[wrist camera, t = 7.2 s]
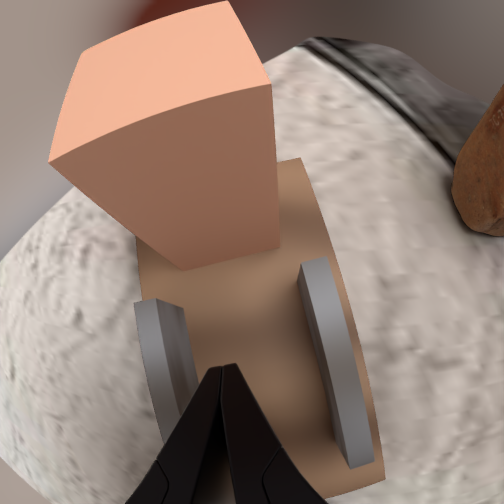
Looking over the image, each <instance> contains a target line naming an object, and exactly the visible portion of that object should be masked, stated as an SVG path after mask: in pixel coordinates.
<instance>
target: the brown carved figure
mask: <svg viewBox="0 0 504 504" xmlns="http://www.w3.org/2000/svg"><path fill="white" fill-rule="evenodd" d="M451 193H452V196H453V200H454V202H455V205H456V207H457V209H458V211H459V213H460V215H461V217H462V219H463V221H464V222H465V224H466V225H467V226H468V227H470V228H471V229H472V230H474V231H478V232H483V233H487V234H490V235H493V236H504V84H503V86H502V87H501V89H500V91H499V92H498V93H497V95H496V96H495V98H494V100H493V102H492V103H491V105H490V106H489V108H488V109H487V111H486V112H485V114H484V115H483V117H482V119H481V120H480V122H479V123H478V124H477V126H476V127H475V129H474V130H473V132H472V133H471V135H470V136H469V138H468V139H467V141H466V143H465V144H464V146H463V147H462V149H461V151H460V153H459V155H458V157H457V160H456V164H455V168H454V177H453V183H452V185H451Z"/></svg>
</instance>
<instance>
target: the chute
mask: <svg viewBox="0 0 504 504" xmlns="http://www.w3.org/2000/svg"><path fill="white" fill-rule="evenodd" d="M277 179H278V199H279V221H280V247H279V248H275V249H271V250H267V251H263V252H259V253H255V254H251V255H247V256H243V257H239V258H235V259H231V260H227V261H223V262H219V263H215V264H211V265H207V266H203V267H199V268H195V269H191V270H187V271H182V270H181V269H179V268H178V267H177V266H175V265H174V264H173V263H171V262H170V261H169V260H167V259H166V258H165V257H163V256H162V255H161V254H159V253H158V252H157V251H155V250H154V249H153V248H151V247H150V246H149V245H147V244H146V243H145V242H143V241H142V240H141V239H140V238H138V237H137V236H136V246H137V257H138V267H139V276H140V284H141V292H142V300H143V301H140V302H136V303H134V308H135V315H136V322H137V329H138V335H139V340H140V346H141V352H142V357H143V362H144V367H145V372H146V376H147V381H148V386H149V390H150V394H151V398H152V402H153V406H154V410H155V414H156V418H157V422H158V425H159V429H160V432H161V436H162V439H163V443H164V444H165V442H166V441H167V439H168V437H169V436H170V434H171V432H172V430H173V429H174V427H175V425H176V424H177V422H178V420H179V418H180V417H181V415H182V413H183V412H184V410H185V408H186V406H187V405H188V403H189V401H190V399H191V398H192V396H193V394H194V392H195V391H196V389H197V387H198V385H199V384H200V382H201V380H202V378H203V377H204V375H205V373H206V371H207V370H208V368H210V367H215V366H223V365H225V364H231V363H237V365H238V367H239V368H240V370H241V372H242V374H243V376H244V378H245V380H246V382H247V384H248V385H249V387H250V389H251V391H252V393H253V395H254V396H255V398H256V400H257V402H258V404H259V405H260V407H261V409H262V411H263V413H264V414H265V416H266V418H267V420H268V421H269V423H270V425H271V427H272V428H273V430H274V432H275V433H276V435H277V437H278V439H279V440H280V442H281V444H282V445H283V448H285V450H286V452H287V453H288V455H289V457H290V458H291V460H292V461H293V463H294V464H295V466H296V467H297V468H298V470H299V471H300V473H301V474H302V475H303V476H304V477H305V479H306V480H307V481H308V482H309V483H310V485H311V486H312V487H313V488H314V489H315V490H316V491H317V492H318V493H319V494H320V495H321V496H322V498H323V499H326V498H330V497H334V496H337V495H341V494H344V493H348V492H351V491H354V490H357V489H360V488H363V487H366V486H369V485H372V484H375V483H377V482H380V481H383V480H385V479H386V478H385V470H384V463H383V456H382V449H381V443H380V436H379V431H378V425H377V419H376V414H375V409H374V404H373V398H372V394H371V389H370V384H369V379H368V375H367V370H366V366H365V362H364V357H363V353H362V349H361V345H360V341H359V337H358V333H357V329H356V325H355V321H354V318H353V314H352V310H351V307H350V303H349V300H348V296H347V293H346V289H345V286H344V282H343V279H342V276H341V272H340V269H339V266H338V262H337V259H336V256H335V253H334V250H333V247H332V244H331V241H330V238H329V234H328V231H327V229H326V226H325V223H324V220H323V217H322V214H321V211H320V208H319V205H318V203H317V200H316V197H315V194H314V192H313V189H312V186H311V183H310V181H309V178H308V176H307V173H306V170H305V168H304V165H303V163H302V160H301V158H296V159H291V160H287V161H282V162H278V163H277Z"/></svg>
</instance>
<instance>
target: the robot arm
mask: <svg viewBox="0 0 504 504" xmlns="http://www.w3.org/2000/svg"><path fill="white" fill-rule="evenodd" d="M156 459H157V460H155V461H154V463H153V464H152V466H151V468H150V469H149V471H148V472H147V474H146V475H145V477H144V479H143V480H142V482H141V483H140V484H139V486H138V487H137V489H136V490H135V491H134V493H133V494H132V495H131V497H130V498H129V499H128V500H127V501H126V503H125V504H328V503H327V502H326V501H325V500H324V499H323V498H322V496H321V495H320V494H319V493H318V492H317V491H316V490H315V489H314V488H313V487H312V486H311V485H310V483H309V482H308V481H307V480H306V479H305V477H304V476H303V475H302V474H301V473H300V471H299V470H298V468H297V467H296V466H295V464H294V463H293V461H292V460H291V458H290V457H289V455H288V453H287V452H286V450H285V448H283V445H282V444H281V442H280V440H279V439H278V437H277V435H276V433H275V432H274V430H273V428H272V427H271V425H270V423H269V421H268V420H267V418H266V416H265V414H264V413H263V411H262V409H261V407H260V405H259V404H258V402H257V400H256V398H255V396H254V395H253V393H252V391H251V389H250V387H249V385H248V384H247V382H246V380H245V378H244V376H243V374H242V372H241V370H240V368H239V367H238V365H237V363H231V364H225V365H223V366H215V367H210V368H208V370H207V371H206V373H205V375H204V377H203V378H202V380H201V382H200V384H199V385H198V387H197V389H196V391H195V392H194V394H193V396H192V398H191V399H190V401H189V403H188V405H187V406H186V408H185V410H184V412H183V413H182V415H181V417H180V418H179V420H178V422H177V424H176V425H175V427H174V429H173V430H172V432H171V434H170V436H169V437H168V439H167V441H166V442H165V444H164V446H163V448H162V449H161V451H160V453H159V454H158V456H157V458H156Z"/></svg>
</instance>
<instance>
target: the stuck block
mask: <svg viewBox="0 0 504 504" xmlns="http://www.w3.org/2000/svg"><path fill="white" fill-rule="evenodd" d="M48 163H49V164H50V165H51V166H52V167H53V168H55V169H56V170H57V171H58V172H59V173H60V174H61V175H63V176H64V177H65V178H66V179H67V180H68V181H70V182H71V183H72V184H73V185H74V186H75V187H77V188H78V189H79V190H80V191H81V192H83V193H84V194H85V195H86V196H87V197H88V198H90V199H91V200H92V201H93V202H95V203H96V204H97V205H98V206H99V207H101V208H102V209H103V210H104V211H106V212H107V213H108V214H109V215H110V216H112V217H113V218H114V219H115V220H117V221H118V222H119V223H120V224H122V225H123V226H124V227H126V228H127V229H128V230H129V231H131V232H132V233H133V234H134V235H136V236H137V237H138V238H140V239H141V240H142V241H143V242H145V243H146V244H147V245H149V246H150V247H151V248H153V249H154V250H155V251H157V252H158V253H159V254H161V255H162V256H163V257H165V258H166V259H167V260H169V261H170V262H171V263H173V264H174V265H175V266H177V267H178V268H179V269H181V270H182V271H187V270H191V269H195V268H199V267H203V266H207V265H211V264H215V263H219V262H223V261H227V260H231V259H235V258H239V257H243V256H247V255H251V254H255V253H259V252H263V251H267V250H271V249H275V248H279V247H280V221H279V199H278V179H277V161H276V144H275V129H274V114H273V100H272V87H271V82H270V80H269V78H268V76H267V74H266V72H265V70H264V68H263V65H262V63H261V62H260V60H259V57H258V55H257V54H256V52H255V50H254V48H253V46H252V44H251V42H250V40H249V38H248V36H247V34H246V32H245V31H244V29H243V27H242V25H241V23H240V21H239V20H238V18H237V16H236V14H235V12H234V11H233V9H232V7H231V5H230V4H229V2H228V1H223V2H219V3H214V4H210V5H206V6H201V7H197V8H194V9H190V10H186V11H183V12H179V13H176V14H173V15H170V16H167V17H164V18H161V19H157V20H155V21H152V22H149V23H146V24H144V25H141V26H138V27H136V28H133V29H131V30H128V31H126V32H124V33H122V34H119V35H117V36H114V37H112V38H110V39H108V40H106V41H104V42H102V43H100V44H97V45H95V46H94V47H91V48H89V49H88V50H86V51H84V52H82V54H81V56H80V59H79V61H78V63H77V66H76V69H75V71H74V74H73V76H72V79H71V82H70V85H69V88H68V91H67V93H66V96H65V100H64V103H63V106H62V109H61V112H60V116H59V120H58V123H57V127H56V131H55V134H54V139H53V142H52V147H51V151H50V156H49V161H48Z"/></svg>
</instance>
